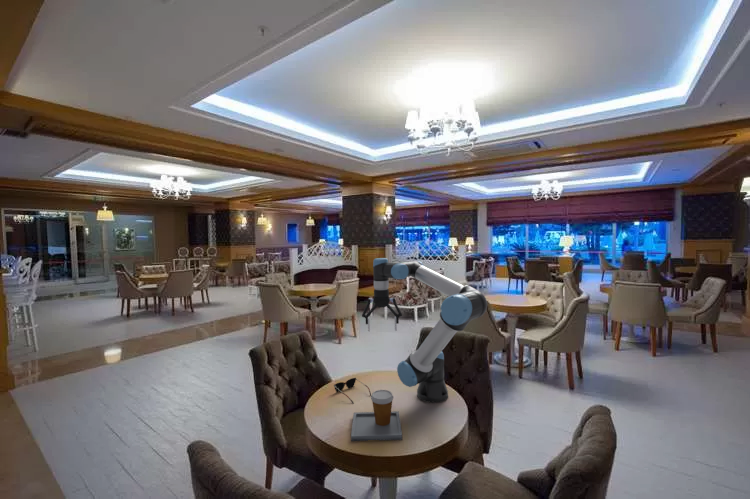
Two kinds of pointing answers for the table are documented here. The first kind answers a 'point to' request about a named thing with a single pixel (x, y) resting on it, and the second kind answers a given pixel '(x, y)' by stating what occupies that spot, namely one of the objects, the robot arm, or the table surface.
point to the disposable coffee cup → (382, 406)
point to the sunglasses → (348, 383)
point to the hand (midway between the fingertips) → (382, 330)
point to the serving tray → (375, 427)
